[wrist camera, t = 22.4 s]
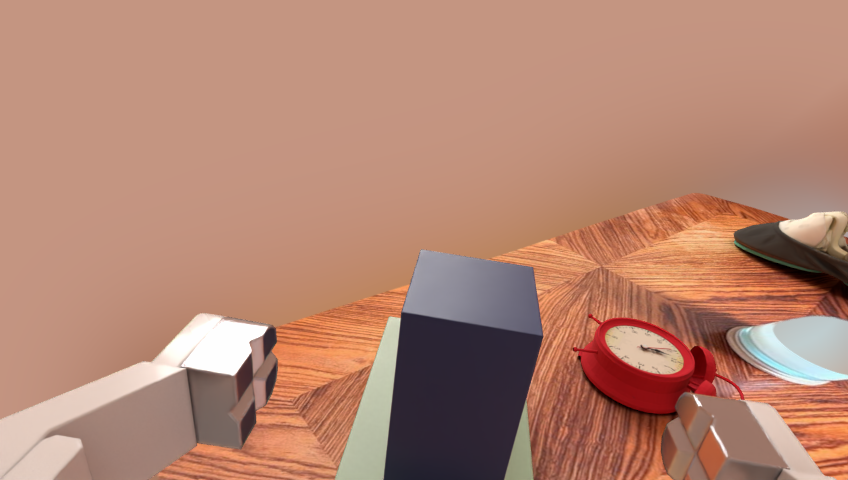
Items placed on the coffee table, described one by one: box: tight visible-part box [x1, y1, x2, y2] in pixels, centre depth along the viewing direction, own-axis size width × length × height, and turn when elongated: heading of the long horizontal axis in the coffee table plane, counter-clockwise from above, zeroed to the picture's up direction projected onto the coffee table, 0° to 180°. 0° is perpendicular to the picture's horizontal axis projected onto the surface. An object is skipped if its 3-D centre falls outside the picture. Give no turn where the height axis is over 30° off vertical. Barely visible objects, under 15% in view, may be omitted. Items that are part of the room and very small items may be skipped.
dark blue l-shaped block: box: [383, 250, 543, 480], centre depth 30 cm, size 16×6×14 cm, turn 172°
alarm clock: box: [573, 314, 744, 414], centre depth 47 cm, size 10×6×15 cm
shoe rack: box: [335, 316, 534, 480], centre depth 34 cm, size 22×12×8 cm, turn 173°
